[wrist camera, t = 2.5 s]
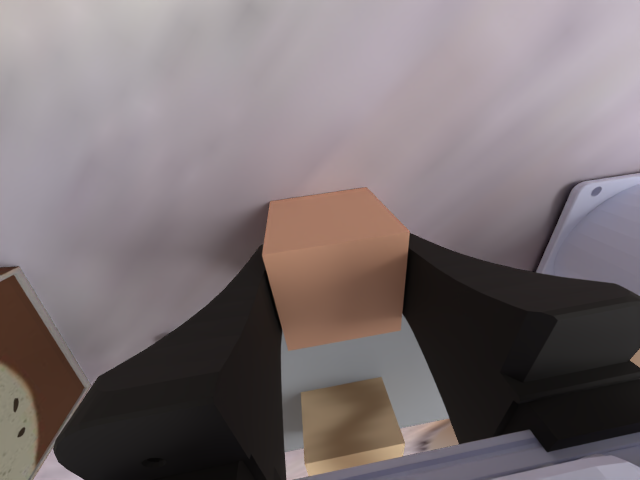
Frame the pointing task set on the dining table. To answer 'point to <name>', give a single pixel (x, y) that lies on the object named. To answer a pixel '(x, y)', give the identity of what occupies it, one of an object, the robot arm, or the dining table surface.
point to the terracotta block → (335, 267)
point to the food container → (32, 379)
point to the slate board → (361, 377)
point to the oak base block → (349, 426)
